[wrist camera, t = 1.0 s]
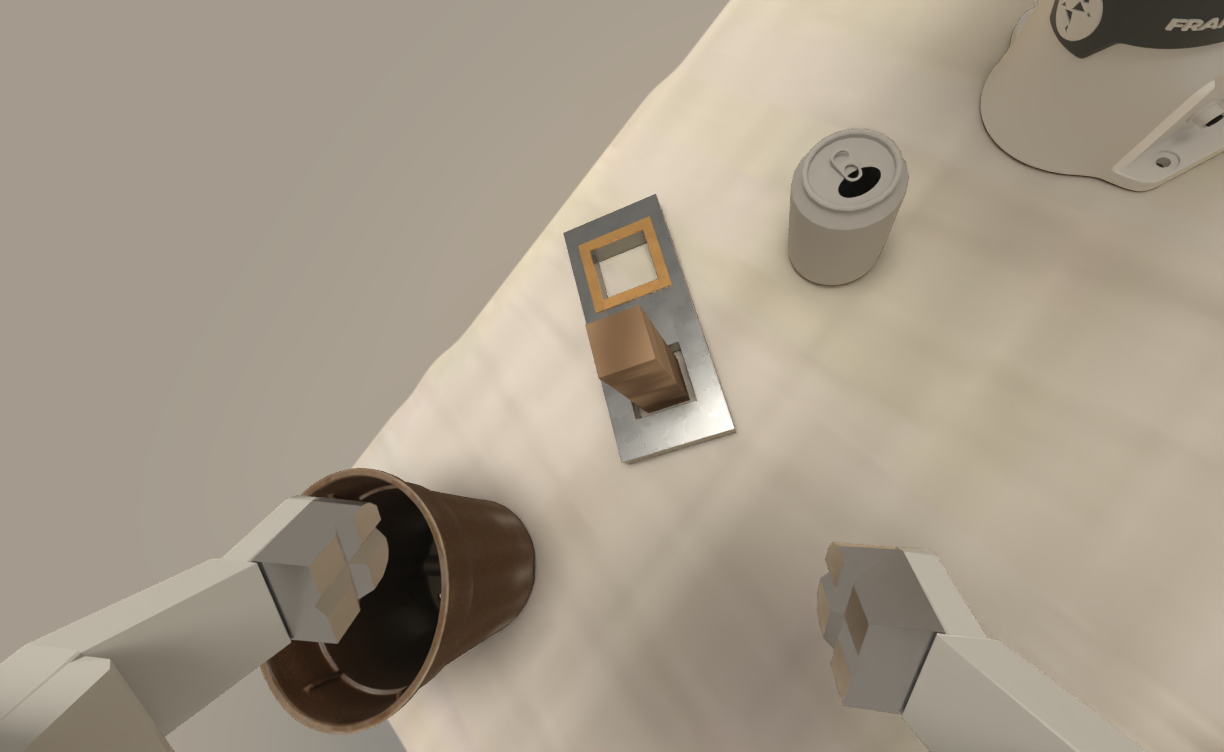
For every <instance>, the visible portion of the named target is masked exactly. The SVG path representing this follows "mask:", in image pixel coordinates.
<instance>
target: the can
mask: <svg viewBox="0 0 1224 752" xmlns="http://www.w3.org/2000/svg"><path fill="white" fill-rule="evenodd" d="M908 179H909V175H908V170H907V166H906V162H905V160H904V159H903V157H902V155H901V151H900V150H899V149H898V147H897V146H896V144H895V143H894V141H892V140H891V139H890V138H888V137H887V136H885V135H884V134H882V133H880V132H876V131H873V130H869V129H848V130H843V131H839V132H835V133H833V134H831V135H829V136H827V137H826V138H824V139H822V140H821V141H820V142H819V143H817V144H816V145H815V146H814V147H813V148H812V149H811V150H810V152H809V153H808V154H807V155H806V156H804V157H803V158H802V160H801V162H800V163H799V165H798V166H797V168H796V170H795V171H794V175H793V180H792V184H791V197H790V217H789V238H788V251H789V258H790V261H791V262H792V264H793V266H794V268H795V270H796V271H798V272H799V273H800V274H801V275H802V276H803V277H804V278H806V279H808V280H810V281H813V282H815V283H817V284H824V285H832V286H833V285H840V284H846V283H849V282H851V281H854V280H856V279H858V278H860V277H862V276H863V275H864V274H865V273H867V272H868V271H869V270H870V269H871V268H872V267H873V265H874V264H875V262H876V260H877V259H878V257H879V255H880V253H881V250H882V248H883V246H884V243H885V241H886V239H887V236H888V234H889V232H890V229H891V227H892V224H893V222H894V220H895V217H896V215H897V213H898V210H899V208H900V205H901V203H902V201H903V198H904V196H905V194H906V190H907V185H908Z"/></svg>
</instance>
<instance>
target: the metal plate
mask: <svg viewBox="0 0 1224 752" xmlns="http://www.w3.org/2000/svg"><path fill="white" fill-rule="evenodd" d="M564 237H565V241H566V245H567V249H568V253H569V257H570V261H571V265H572V269H573V273H574V277H575V280H576V284H577V288H578V292H579V296H580V300H581V304H582V308H583V312H584V316H585V320H586V324H589V323H591V322H594V321H597V320H599V319H602V318H605V317H607V316H610V315H613V314H616V313H618V312H621V311H624V310H626V309H629V308H632V307H634V306H637V305H640V306H641V307H642V309H643V310H644V312H645V313H646V315H647V316H648V318H649V319H650V320H651V322H652V323H653V325H654V326H655V328H656V329H657V331H658V332H659V334H660V335H661V336H662V338H663V339H664V341H665V342H666V344H667V345H668V347H669V348H670V350H671V351H672V352H676V351H679V350H681V351H682V354H683V357H684V360H685V363H686V367H687V370H688V373H689V376H690V379H691V382H692V386H693V389H694V392H695V395H696V398H697V400H696V401H693V402H690V403H687V404H684V405H681V406H678V407H674V408H671V409H668V410H665V411H662V412H659V413H656V414H653V415H649V416H646V417H643V418H641V416H640V412H639V409H638V405H636V404H635V403H633V402H632V401H631V400H629V399H628V398H626V397H625V396H623V395H622V394H621V393H619V392H618V391H616V390H615V389H613V388H612V387H611V386H609V385H608V384H606V383H605V382H603V381H602V380H601V383H602V387H603V391H604V395H605V398H606V402H607V406H608V410H609V414H610V418H611V422H612V426H613V430H614V434H615V438H616V442H617V446H618V450H619V454H620V457H621V461H622V463H626V464H632V463H635V462H638V461H642V460H645V459H648V458H652V457H655V456H658V455H662V454H665V453H668V452H672V451H675V450H678V449H682V448H685V447H688V446H692V445H695V444H699V443H702V442H705V441H709V440H712V439H715V438H719V437H722V436H725V435H729V434H732V433H735V432H736V429H735V427H734V424H733V421H732V418H731V415H730V412H729V409H728V406H727V403H726V400H725V397H724V394H723V391H722V388H721V385H720V382H719V379H718V376H717V373H716V370H715V367H714V364H713V361H712V358H711V355H710V352H709V349H708V346H707V343H706V340H705V337H704V334H703V331H702V328H701V325H700V322H699V319H698V316H697V313H696V310H695V307H694V304H693V301H692V298H691V295H690V292H689V289H688V286H687V283H686V280H685V277H684V274H683V271H682V268H681V265H680V262H679V259H678V256H677V253H676V250H675V247H674V244H673V241H672V238H671V235H670V233H669V230H668V227H667V224H666V221H665V218H664V215H663V212H662V209H661V206H660V203H659V201H658V198H657V196H656V194H654V195H652V196H650V197H647V198H645V199H642V200H640V201H638V202H635V203H633V204H631V205H628V206H626V207H624V208H621V209H619V210H617V211H614V212H612V213H610V214H607V215H605V216H603V217H600V218H598V219H595V220H593V221H591V222H588V223H586V224H584V225H581V226H579V227H577V228H574V229H572V230H570V231H567V232H565V233H564ZM645 243H647V244H648V247H649V250H650V253H651V256H652V260H653V263H654V266H655V269H656V272H657V275H658V279H656V280H654V281H651V282H648V283H646V284H643V285H641V286H638V287H635V288H633V289H630V290H628V291H625V292H622V293H620V294H617V295H615V296H612V297H609V298H608V296H607V292H606V288H605V285H604V281H603V278H602V274H601V270H600V267H599V263H598V262H600V261H603V260H605V259H608V258H610V257H613V256H615V255H617V254H620V253H622V252H625V251H627V250H630V249H632V248H635V247H637V246H640V245H642V244H645Z"/></svg>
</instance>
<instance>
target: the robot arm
mask: <svg viewBox="0 0 1224 752" xmlns="http://www.w3.org/2000/svg"><path fill="white" fill-rule="evenodd" d="M980 104H981V115H982V119H983V122H984V125H985V127H986V129H987V131H988V133H989V134H990V136H991V137H992V139H993V140H994V141H995V142H996V143H997V144H998V145H999V146H1000V147H1001V148H1002V149H1003V150H1004V151H1006V152H1007V153H1008V154H1010V155H1011V156H1013V157H1014V158H1016V159H1018V160H1020V161H1021V162H1024V163H1026V164H1028V165H1030V166H1033V167H1036V168H1039V169H1042V170H1046V171H1050V172H1055V173H1062V174H1071V175H1083V176H1092V177H1097V178H1101V179H1103V180H1105V181H1108V182H1110V183H1113V184H1115V185H1118V186H1120V187H1123V188H1126V189H1129V190H1134V191H1147V190H1151V189H1153V188H1156V187H1158V186H1159V185H1161V184H1163V183H1165V182H1167V181H1169V180H1171V179H1173V178H1175V177H1176V176H1178V175H1180V174H1182V173H1184V172H1186V171H1188V170H1190V169H1191V168H1193V167H1195V166H1197V165H1199V164H1201V163H1203V162H1205V161H1206V160H1208V159H1210V158H1212V157H1214V156H1216V155H1218V154H1220V153H1221V152H1223V151H1224V0H1040V1H1039V2H1038V4H1037V5H1036V7H1034V8H1032V9H1029V10H1028V11H1026V12H1025V13H1024V14H1023V15H1022V17H1021V18H1020V20H1019V21H1018V23H1017V24H1016V26H1015V28H1014V31H1013V34H1012V38H1011V42H1010V47H1009V49H1008V51H1007V52H1006V53H1005V55H1004V56H1003V57H1002V58H1001V60H1000V61H999V62H998V63H997V65H996V66H995V67H994V69H993V70H992V71H991V73H990V75H989V76H988V78H987V80H986V82H985V85H984V87H983V91H982V95H981V103H980ZM1156 163H1158V164H1161V165H1163V167H1159V166H1157V164H1156ZM380 520H381V518H380V515H379V512H378V509H377V505H374V504H372V503H369V502H361V501H352V500H343V499H334V498H325V497H320V498H319V497H311V496H302V495H296V496H293V497H290V498H287V499H286V500H285V501H284V502H283V503H281V505H279V506H278V507H277V508H276V509H275V510H274V511H273V512H272V513H271V514H269V515H268V516H267V517H266V518H265V519H264V520H263V521H262V522H261V523H260V524H258V525H257V526H256V527H255V528H254V529H253V530H252V531H251V532H250V533H249V534H247V535H246V536H245V537H244V538H243V539H242V540H241V541H240V542H239V543H238V544H236V545H235V546H234V547H233V548H232V549H231V550H230V551H229V552H228V553H227V554H225V556H223V557H222V558H221V559H215V558H212V559H210V560H208V561H205V562H203V563H201V564H199V565H197V566H195V567H192V568H190V569H188V570H186V571H184V572H182V573H180V574H177V575H175V576H173V577H171V578H169V579H167V580H164V581H162V582H160V583H158V584H156V585H153V586H151V587H149V588H147V589H145V590H143V591H140V592H138V593H136V594H134V595H132V596H130V597H128V598H125V599H123V600H121V601H119V602H117V603H114V604H113V605H110V606H108V607H106V608H104V609H101V610H99V611H97V612H95V613H93V614H91V615H88V616H87V617H84V618H82V619H80V620H78V621H75V622H73V623H71V624H69V625H67V626H65V627H62V628H60V629H58V630H56V631H54V632H52V633H50V634H47V635H45V636H43V637H41V638H39V639H37V640H35V641H32V642H30V643H28V644H26V645H24V646H23V647H22V648H20V649H19V650H18V651H16V652H15V653H14V654H13V655H11V656H10V657H9V658H7V659H6V660H5V661H4V662H2V663H1V664H0V752H174V750H173V749H172V747H171V746H170V744H169V743H168V742H167V740H166V739H165V736H166V735H167V734H169V733H170V732H172V731H173V730H174V729H176V728H177V727H178V726H180V725H181V724H182V723H184V722H185V721H186V720H188V719H189V718H190V717H192V716H193V715H194V714H196V713H197V712H198V711H200V710H201V709H203V708H204V707H205V706H206V705H208V704H209V703H210V702H212V701H213V700H214V699H216V698H217V697H219V696H220V695H221V694H223V693H224V692H225V691H226V690H228V689H229V688H231V687H232V686H233V685H235V684H236V683H237V682H239V681H240V680H241V679H243V678H244V677H245V676H247V675H248V674H250V673H251V672H252V671H253V670H255V669H256V668H258V667H259V666H260V665H262V664H263V663H264V662H266V661H267V660H268V659H270V658H271V657H272V656H274V655H275V654H276V653H278V652H279V651H280V650H282V649H283V648H284V647H286V646H287V645H288V644H290V643H291V640H301V641H312V642H324V643H335V644H338V642H339V641H340V639H341V638H342V637H343V635H344V634H345V632H346V631H347V629H348V628H349V626H350V625H351V623H352V622H353V620H354V619H355V617H356V616H357V615H358V613H359V612H360V600H359V599H360V598H362V597H363V596H365V595H366V594H368V593H370V592H371V591H373V590H374V589H375V588H376V586H377V585H378V583H379V582H380V580H381V579H382V577H383V575H384V572H385V569H386V566H387V562H388V549H389V548H388V544H387V540H386V537H385V536H384V535H383V534H382V533H381V532H380V531H379V530H378V529H377V528H376V527H377V525H378V523H379V522H380ZM825 560H826V563H827V566H828V569H829V573H827V574H826V575H825V576H823V577H822V578H821V579H820V584H819V588H818V593H817V611H818V617H819V624H820V627H821V631H822V635H823V638H824V639H825V640H826V641H827V642H828V643H829V644H830V645H831V646H832V647H833V648H834V653H833V656H832V660H831V667H832V671H833V674H834V678H835V681H836V684H837V688H838V691H839V695H840V698H841V702H842V705H843V706H849V707H856V708H862V709H869V710H876V711H882V712H889V713H895V714H902V717H901V718H902V719H903V720H904V721H905V722H906V724H907V725H908V726H909V727H910V728H911V730H912V731H913V732H914V733H915V734H916V736H917V737H918V738H919V739H920V740H921V741H922V743H923V744H924V745H925V746H926V747H927V749H928V750H929V751H930V752H1148V751H1147V750H1145V749H1144V748H1143V747H1141V746H1140V745H1139V744H1137V743H1136V742H1135V741H1133V740H1132V739H1131V738H1129V737H1128V736H1127V735H1125V734H1124V733H1123V732H1121V731H1120V730H1119V729H1117V728H1116V727H1115V726H1113V725H1112V724H1111V723H1109V722H1108V721H1107V720H1105V719H1104V718H1103V717H1101V716H1100V715H1099V714H1097V713H1096V712H1095V711H1093V710H1092V709H1091V708H1089V707H1088V706H1087V705H1085V704H1084V703H1083V702H1081V701H1080V700H1079V699H1077V698H1076V697H1075V696H1073V695H1072V694H1071V693H1069V692H1068V691H1067V690H1065V689H1064V688H1063V687H1061V686H1060V685H1059V684H1057V683H1056V682H1055V681H1053V680H1052V679H1051V678H1049V677H1048V676H1047V675H1045V674H1044V673H1043V672H1041V671H1040V670H1038V669H1037V668H1036V667H1034V666H1033V665H1032V664H1030V663H1029V662H1028V661H1026V660H1025V659H1024V658H1022V657H1021V656H1020V655H1018V654H1017V653H1016V652H1014V651H1013V650H1012V649H1010V648H1009V647H1008V646H1006V645H1005V644H1004V643H1002V642H1001V641H1000V640H994V639H988V638H987V636H986V634H985V633H984V631H983V630H982V628H981V626H980V625H979V623H978V621H977V620H976V618H975V617H974V615H973V613H972V612H971V610H970V608H969V607H968V605H967V604H966V602H965V600H964V599H963V597H962V595H961V594H960V592H959V591H958V589H957V587H956V586H955V584H954V583H953V581H952V579H951V578H950V576H949V574H948V573H947V571H946V570H945V568H944V566H943V565H942V563H941V561H940V560H939V558H938V557H937V555H936V554H935V553H934V552H932V551H931V550H930V549H920V548H906V547H895V548H894V547H888V546H875V545H863V544H850V543H837V542H832V543H831V545H830V546H829V548H828V551H827V555H826V559H825Z"/></svg>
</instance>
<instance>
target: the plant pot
mask: <svg viewBox="0 0 1224 752" xmlns="http://www.w3.org/2000/svg"><path fill="white" fill-rule="evenodd" d="M301 495H302V496H311V497H319V498H320V497H325V498H334V499H343V500H352V501H361V502H369V503H372V504H374V505H377V509H378V512H379V515H380V518H381V520H380V522H379V523H378V525H377V527H376V528H377V529H378V530H379V531H380V532H381V533H382V534H383V535H384V536H385V537H386V540H387V544H388V548H389V549H388V562H387V566H386V569H385V572H384V575H383V577H382V579H381V580H380V582H379V583H378V585H377V586H376V588H375V589H374V590H373V591H371V592H370V593H368V594H366V595H365V596H363V597H362V598H360V599H359V600H360V612H359V613H358V615H357V616H356V617H355V619H354V620H353V622H352V623H351V625H350V626H349V628H348V629H347V631H346V632H345V634H344V635H343V637H342V638H341V639H340V641H339V642H338V644H335V643H324V642H312V641H301V640H291V643H290V644H288V645H287V646H286V647H284V648H283V649H282V650H280V651H279V652H278V653H276V654H275V655H274V656H272V657H271V658H270V659H268V660H267V661H266V662H264V663H263V664H262V665H260V667H261V671H262V673H263V676H264V678H265V680H266V682H267V684H268V687H269V689H270V690H271V692H272V694H273V695H274V697H275V698H276V700H277V701H278V703H279V704H280V705H281V706H282V707H283V709H284V710H285V711H286V712H287V713H288V714H290V715H291V716H292V717H293V718H294V719H295V720H296V721H298V722H300V723H301V724H303V725H305V726H307V727H309V728H310V729H313V730H316V731H319V732H323V733H327V734H334V735H345V734H352V733H358V732H361V731H365V730H367V729H370V728H372V727H375V726H376V725H378V724H380V723H382V722H383V721H385V720H386V719H388V718H389V717H391V716H392V715H394V714H395V713H396V712H397V711H398V710H400V709H401V708H402V707H403V706H404V705H405V704H406V703H407V702H408V701H409V700H410V699H411V698H412V697H413V696H414V694H415V693H416V692H417V691H418V689H419V688H421V687H422V686H424V685H425V684H427V683H428V682H429V681H430V680H431V679H433V678H434V677H435V676H436V675H437V674H438V673H439V672H440V671H441V670H442V668H443V667H444V666H445V665H447V664H448V663H450V662H451V661H453V660H454V659H456V658H457V657H459V656H461V655H462V654H464V653H465V652H467V651H468V650H470V649H471V648H473V647H474V646H476V645H477V644H479V643H480V642H482V641H484V640H485V639H487V638H488V637H490V636H491V635H493V634H495V633H497V632H498V631H500V630H502V629H503V628H505V627H506V626H507V625H508V624H509V623H511V622H512V621H513V620H514V618H515V617H516V616H517V615H518V614H519V612H520V611H521V610H522V608H523V606H524V605H525V603H526V601H527V599H528V597H529V594H530V591H531V589H532V585H533V580H534V575H533V557H534V550H533V546H532V542H531V539H530V537H529V534H528V532H527V530H526V529H525V527H524V525H523V524H522V522H521V521H520V520H519V519H518V517H517V516H516V515H515V514H514V513H513V512H511V511H510V510H509V509H507V508H506V507H504V506H502V505H500V504H498V503H496V502H492V501H487V500H480V499H474V498H468V497H462V496H456V495H451V494H445V493H440V492H435V491H430V490H428V489H426V488H424V487H422V486H420V485H417V484H413V483H408V482H404V481H403V480H401V479H400V478H398V477H396V476H394V475H391V474H389V473H386V472H383V471H379V470H375V469H367V468H355V469H348V470H343V471H339V472H336V473H334V474H331V475H329V476H327V477H325V478H323V479H321V480H319V481H318V482H316V483H315V484H313V485H312V486H310V487H309V488H308V489H307V490H305V491H304V492H303V493H302V494H301ZM438 594H441V601H440V599H439V597H438Z"/></svg>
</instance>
